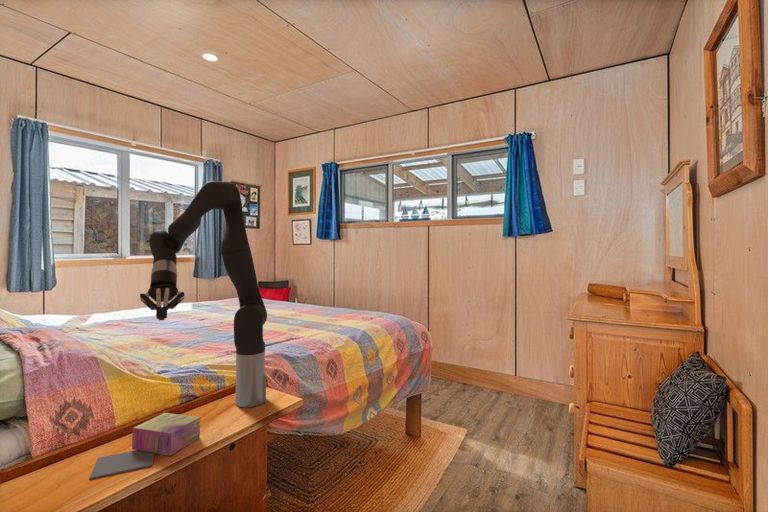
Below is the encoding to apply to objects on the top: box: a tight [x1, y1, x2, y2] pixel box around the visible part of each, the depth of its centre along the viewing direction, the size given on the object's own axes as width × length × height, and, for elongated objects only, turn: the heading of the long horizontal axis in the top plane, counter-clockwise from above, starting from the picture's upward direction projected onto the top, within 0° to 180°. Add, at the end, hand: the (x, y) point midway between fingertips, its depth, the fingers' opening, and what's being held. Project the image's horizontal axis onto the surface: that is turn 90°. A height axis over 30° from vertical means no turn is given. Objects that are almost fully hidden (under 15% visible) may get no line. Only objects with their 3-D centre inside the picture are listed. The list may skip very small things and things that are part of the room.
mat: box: [88, 450, 155, 481], centre depth 90 cm, size 12×9×1 cm
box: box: [131, 412, 201, 457], centre depth 99 cm, size 10×6×12 cm
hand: (161, 318), depth 115 cm, fingers closed
